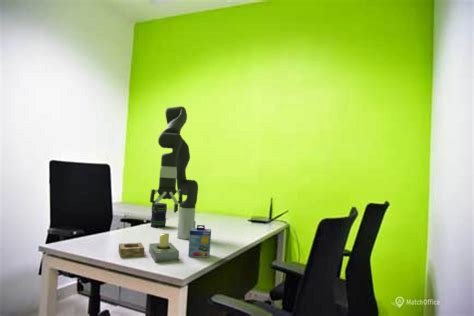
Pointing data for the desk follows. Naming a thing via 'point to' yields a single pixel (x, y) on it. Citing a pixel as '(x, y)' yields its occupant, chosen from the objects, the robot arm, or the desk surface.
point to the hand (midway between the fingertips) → (165, 212)
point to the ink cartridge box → (199, 242)
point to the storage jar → (159, 216)
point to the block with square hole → (163, 253)
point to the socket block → (131, 249)
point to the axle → (164, 241)
